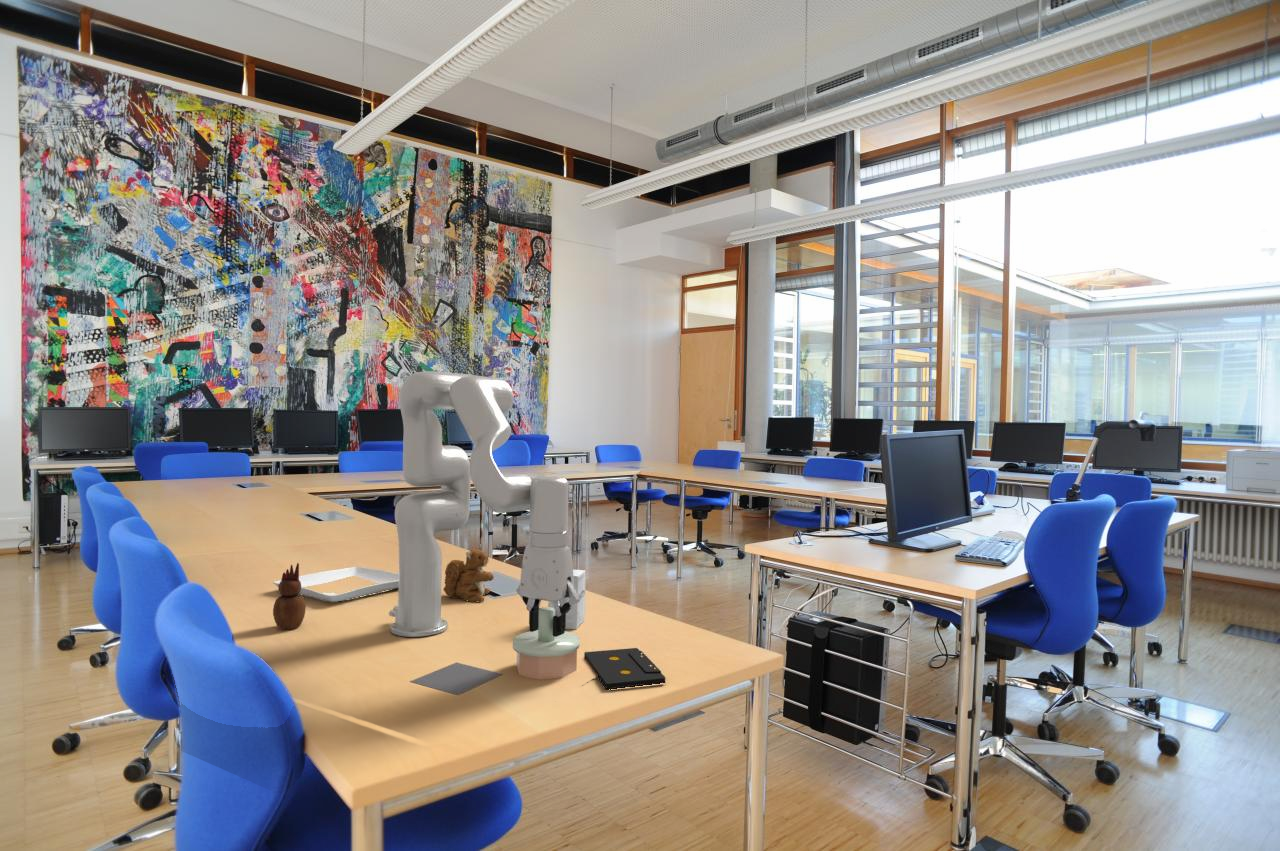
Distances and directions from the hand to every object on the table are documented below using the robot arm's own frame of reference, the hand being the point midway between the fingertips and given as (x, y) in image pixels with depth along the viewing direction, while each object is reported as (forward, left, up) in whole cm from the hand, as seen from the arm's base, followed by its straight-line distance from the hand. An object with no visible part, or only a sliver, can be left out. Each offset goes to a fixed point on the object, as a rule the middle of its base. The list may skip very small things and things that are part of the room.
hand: (547, 631), depth 139 cm
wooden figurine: (-67, -9, -8) cm, 68 cm away
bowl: (0, 0, -8) cm, 8 cm away
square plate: (-86, +21, -8) cm, 89 cm away
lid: (0, 0, -3) cm, 3 cm away
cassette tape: (+13, +8, -9) cm, 17 cm away
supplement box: (-15, +28, -8) cm, 33 cm away
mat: (-11, -13, -8) cm, 19 cm away
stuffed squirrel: (-53, +34, -8) cm, 63 cm away
